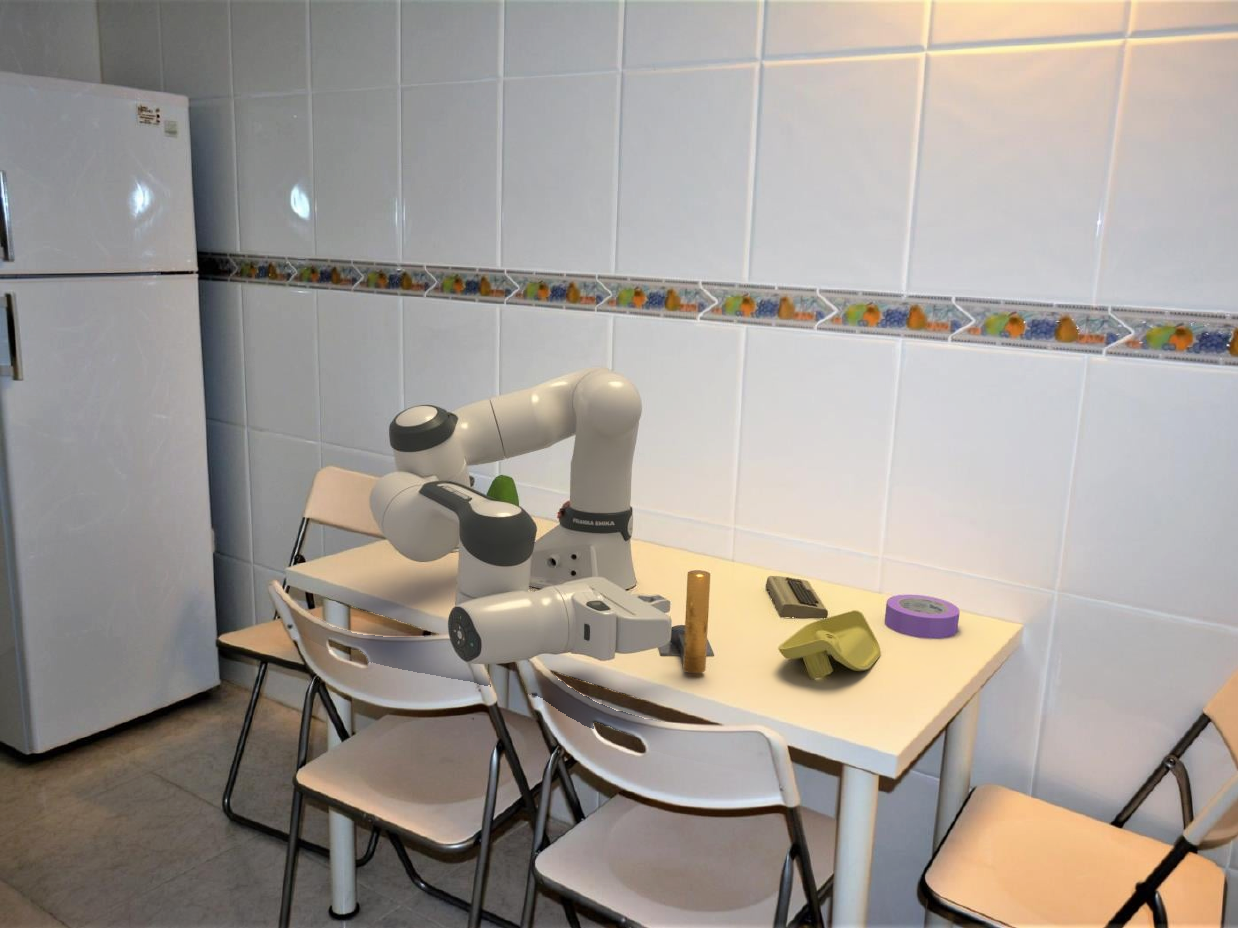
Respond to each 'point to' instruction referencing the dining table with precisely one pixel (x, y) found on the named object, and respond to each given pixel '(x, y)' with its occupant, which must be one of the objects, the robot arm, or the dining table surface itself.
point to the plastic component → (834, 644)
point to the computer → (795, 598)
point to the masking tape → (921, 616)
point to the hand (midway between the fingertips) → (665, 602)
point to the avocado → (503, 490)
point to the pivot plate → (674, 650)
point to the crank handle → (694, 623)
